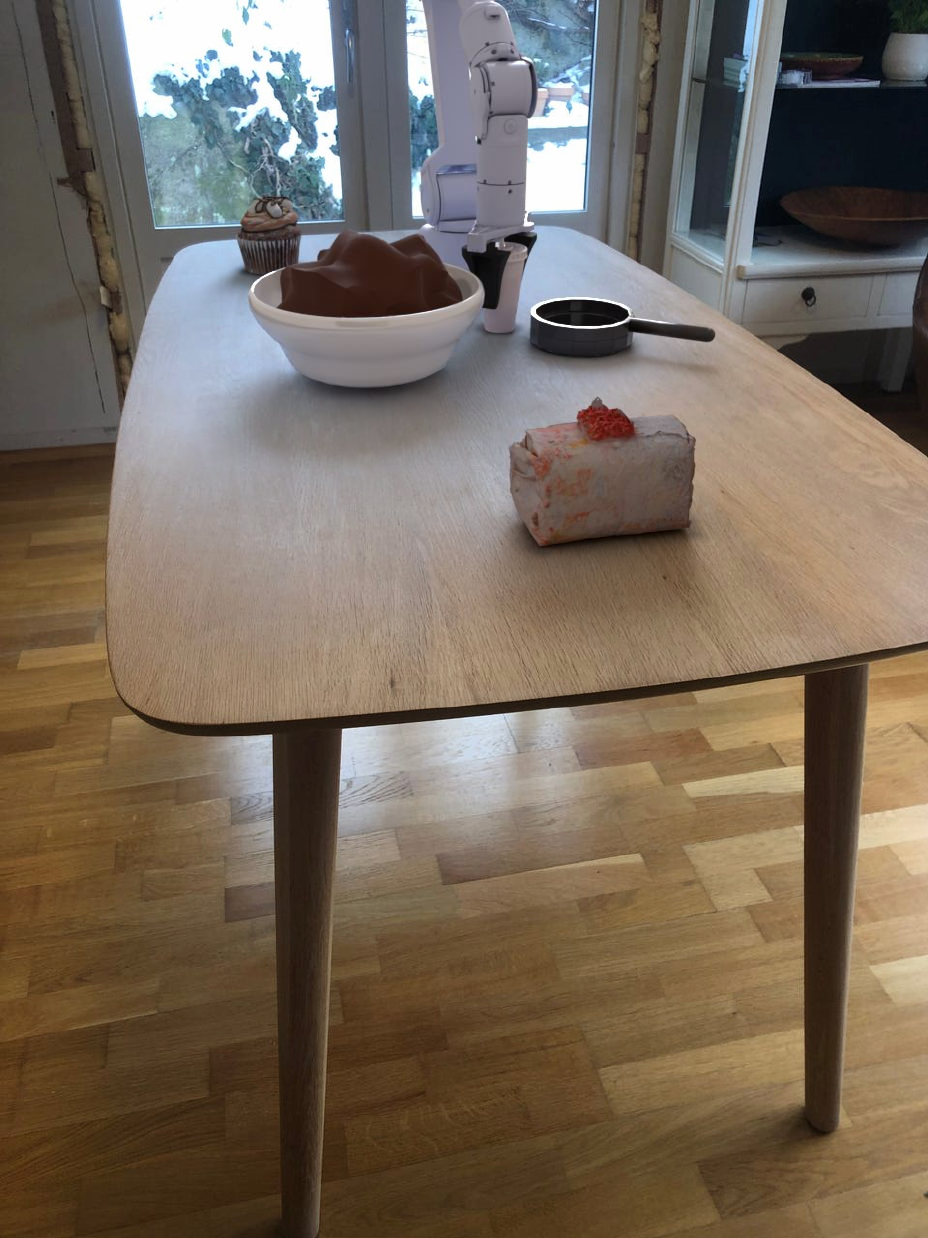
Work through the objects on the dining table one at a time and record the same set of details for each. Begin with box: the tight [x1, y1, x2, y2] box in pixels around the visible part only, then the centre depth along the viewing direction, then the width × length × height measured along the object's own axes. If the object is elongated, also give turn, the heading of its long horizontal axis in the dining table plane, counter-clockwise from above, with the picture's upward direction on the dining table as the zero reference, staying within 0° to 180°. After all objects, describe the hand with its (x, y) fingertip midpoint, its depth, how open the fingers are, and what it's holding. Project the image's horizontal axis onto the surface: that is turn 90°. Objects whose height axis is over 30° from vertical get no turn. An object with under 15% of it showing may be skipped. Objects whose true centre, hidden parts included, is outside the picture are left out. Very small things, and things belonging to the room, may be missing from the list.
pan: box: [529, 297, 636, 358], centre depth 114 cm, size 12×12×4 cm
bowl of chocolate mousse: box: [247, 229, 485, 389], centre depth 102 cm, size 25×25×15 cm
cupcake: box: [235, 194, 303, 276], centre depth 141 cm, size 10×10×10 cm
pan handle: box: [629, 317, 716, 343], centre depth 110 cm, size 11×2×2 cm, turn 65°
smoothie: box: [482, 238, 529, 334], centre depth 115 cm, size 6×6×14 cm
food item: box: [508, 396, 697, 547], centre depth 74 cm, size 14×8×10 cm, turn 102°
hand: (499, 300), depth 117 cm, fingers closed on smoothie, 6 cm apart
